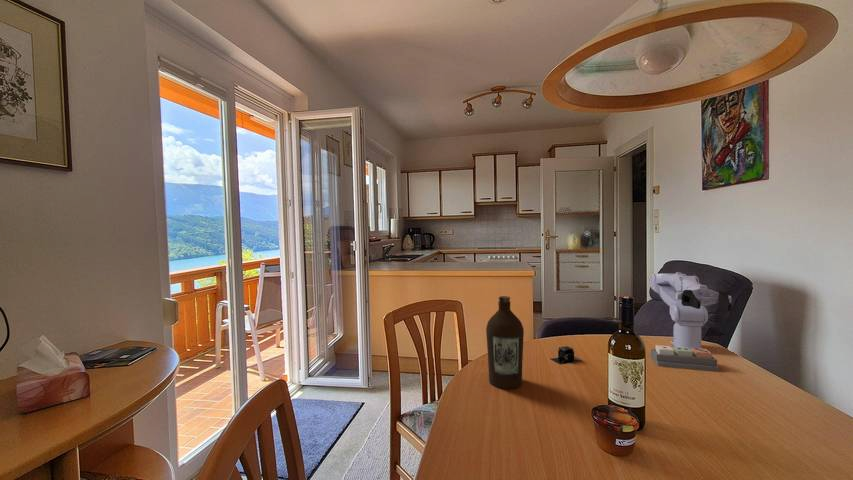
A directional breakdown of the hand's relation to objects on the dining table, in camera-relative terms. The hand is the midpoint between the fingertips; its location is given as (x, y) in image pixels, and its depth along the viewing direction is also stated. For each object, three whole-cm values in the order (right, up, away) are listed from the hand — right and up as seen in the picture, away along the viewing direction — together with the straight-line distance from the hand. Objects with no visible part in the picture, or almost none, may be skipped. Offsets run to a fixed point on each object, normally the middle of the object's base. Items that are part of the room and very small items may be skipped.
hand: (714, 306), depth 105 cm
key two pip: (-5, -17, +6) cm, 18 cm away
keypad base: (-5, -19, +6) cm, 21 cm away
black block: (-41, -21, +11) cm, 47 cm away
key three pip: (-1, -17, +4) cm, 17 cm away
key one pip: (-10, -17, +7) cm, 21 cm away
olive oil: (-65, -21, -5) cm, 69 cm away
